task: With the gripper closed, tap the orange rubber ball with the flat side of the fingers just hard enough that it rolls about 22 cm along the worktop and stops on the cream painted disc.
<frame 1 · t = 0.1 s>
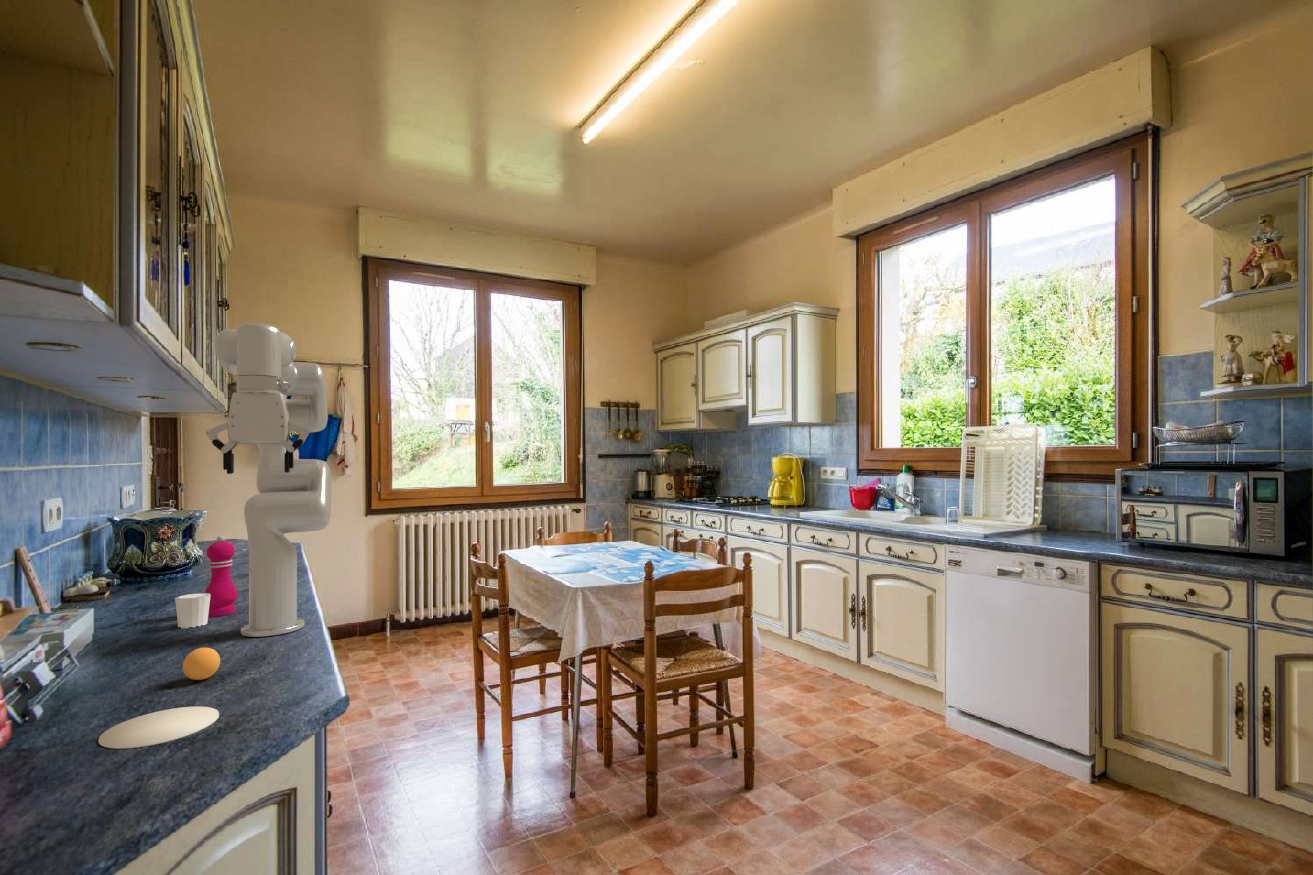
hand: (259, 473, 126), 37 cm above the countertop, tool pointing down, fingers open, 9 cm apart
pepper mill: (220, 614, 163), on the countertop
ball: (201, 663, 114), on the countertop
white fluted cup: (192, 625, 152), on the countertop
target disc: (161, 726, 94), on the countertop
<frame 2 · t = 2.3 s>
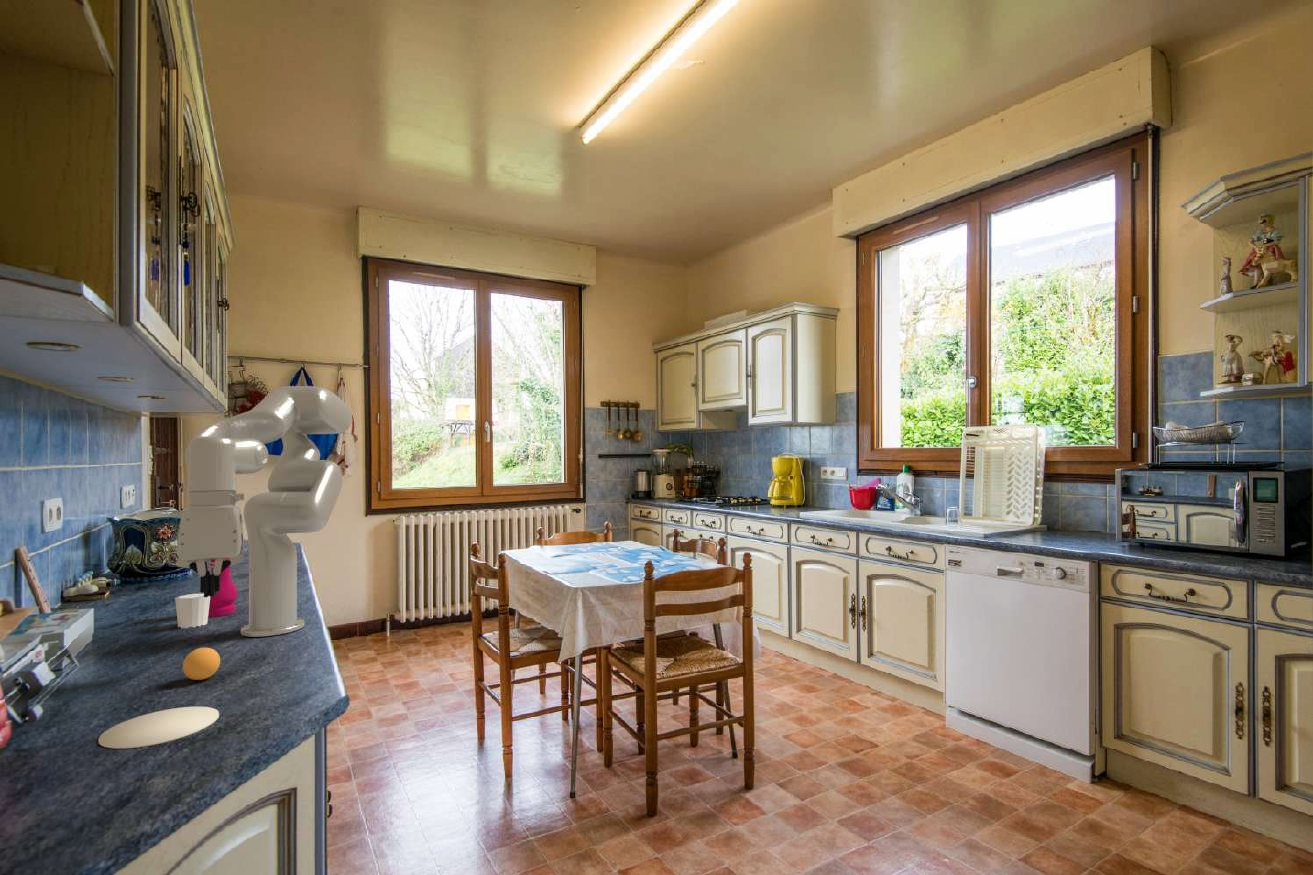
hand: (210, 595, 122), 13 cm above the countertop, tool pointing down, fingers closed
nothing on the countertop moved.
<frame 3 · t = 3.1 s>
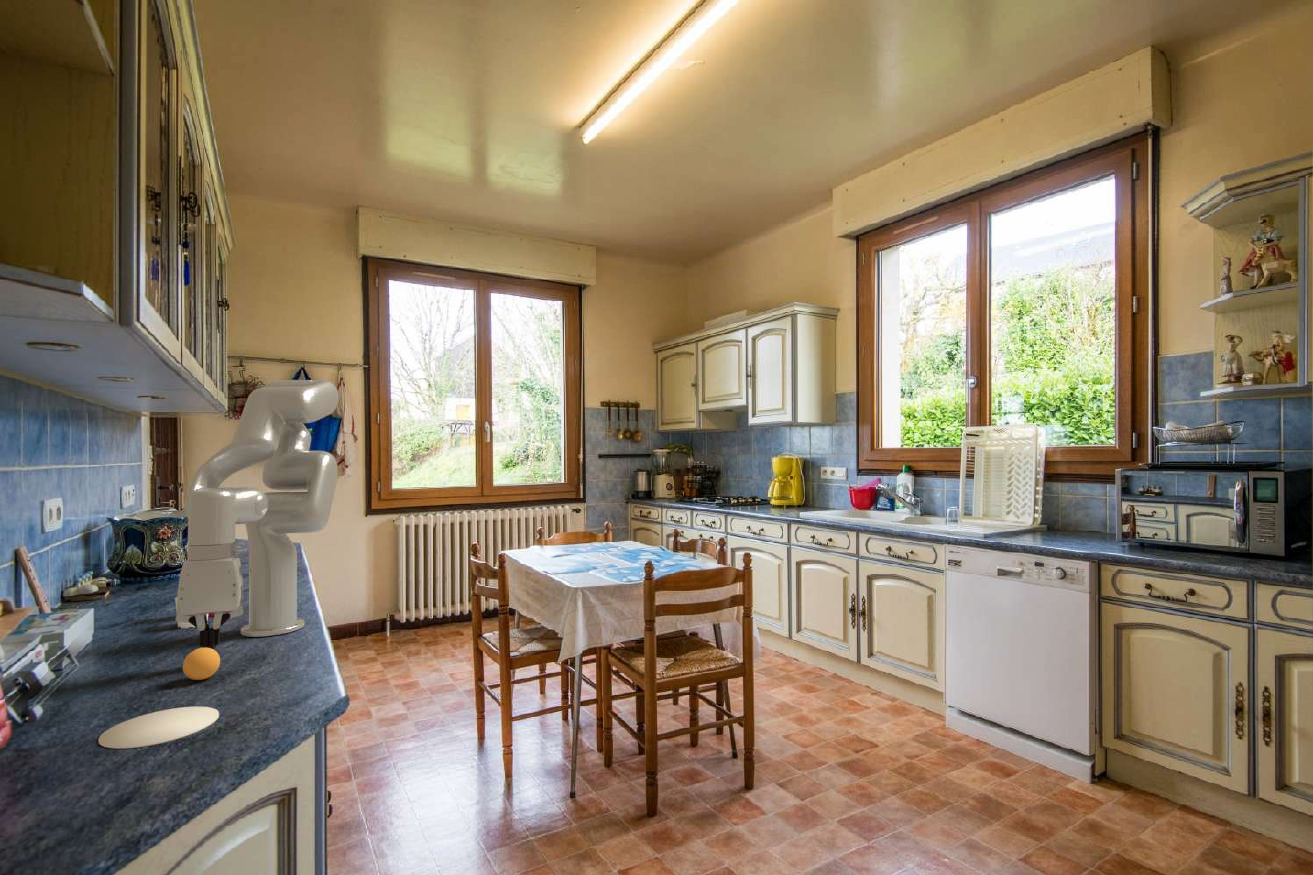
hand: (209, 649, 122), 3 cm above the countertop, tool pointing down, fingers closed
nothing on the countertop moved.
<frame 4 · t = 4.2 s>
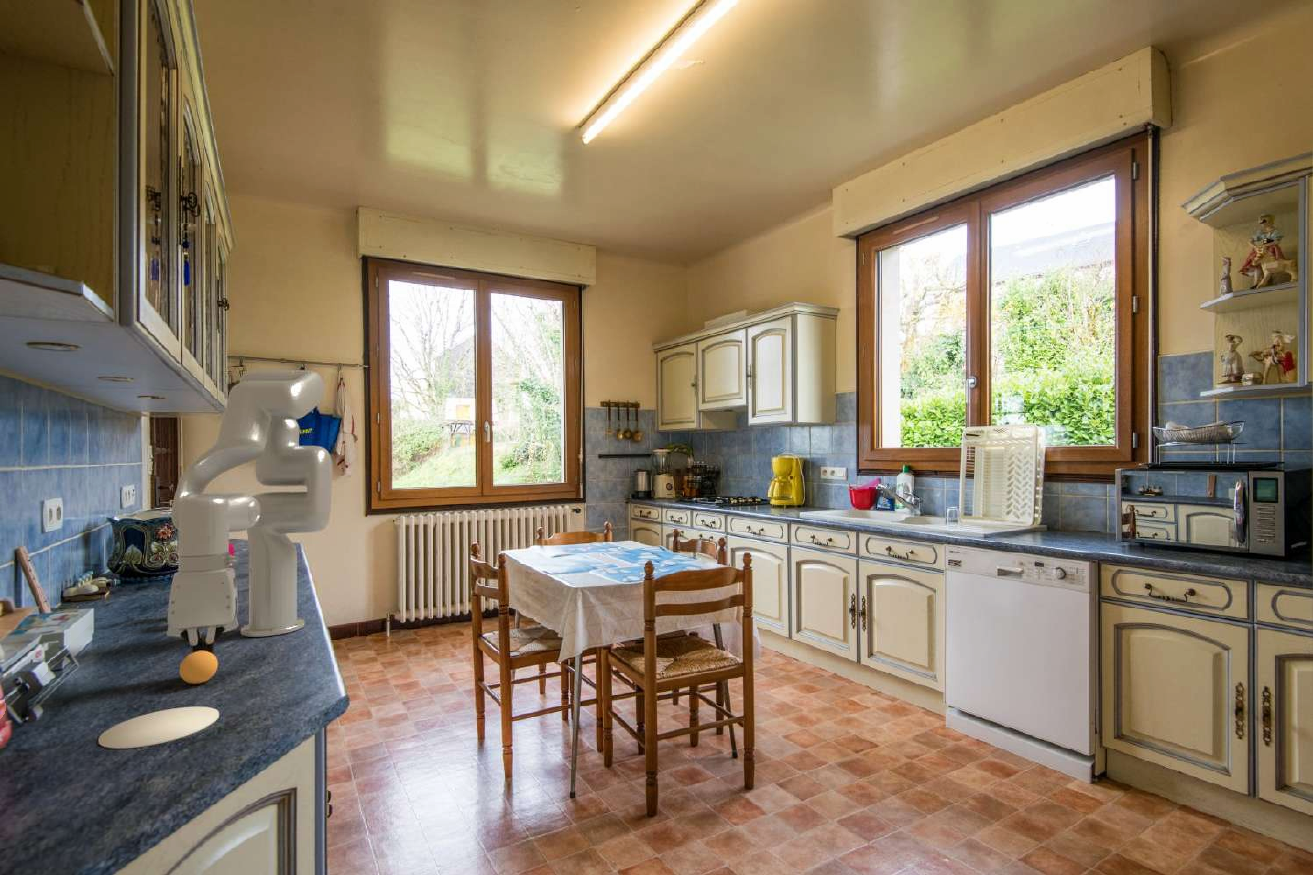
hand: (203, 664, 116), 2 cm above the countertop, tool pointing down, fingers closed
ball: (198, 667, 112), on the countertop, touching gripper
everything else where it was.
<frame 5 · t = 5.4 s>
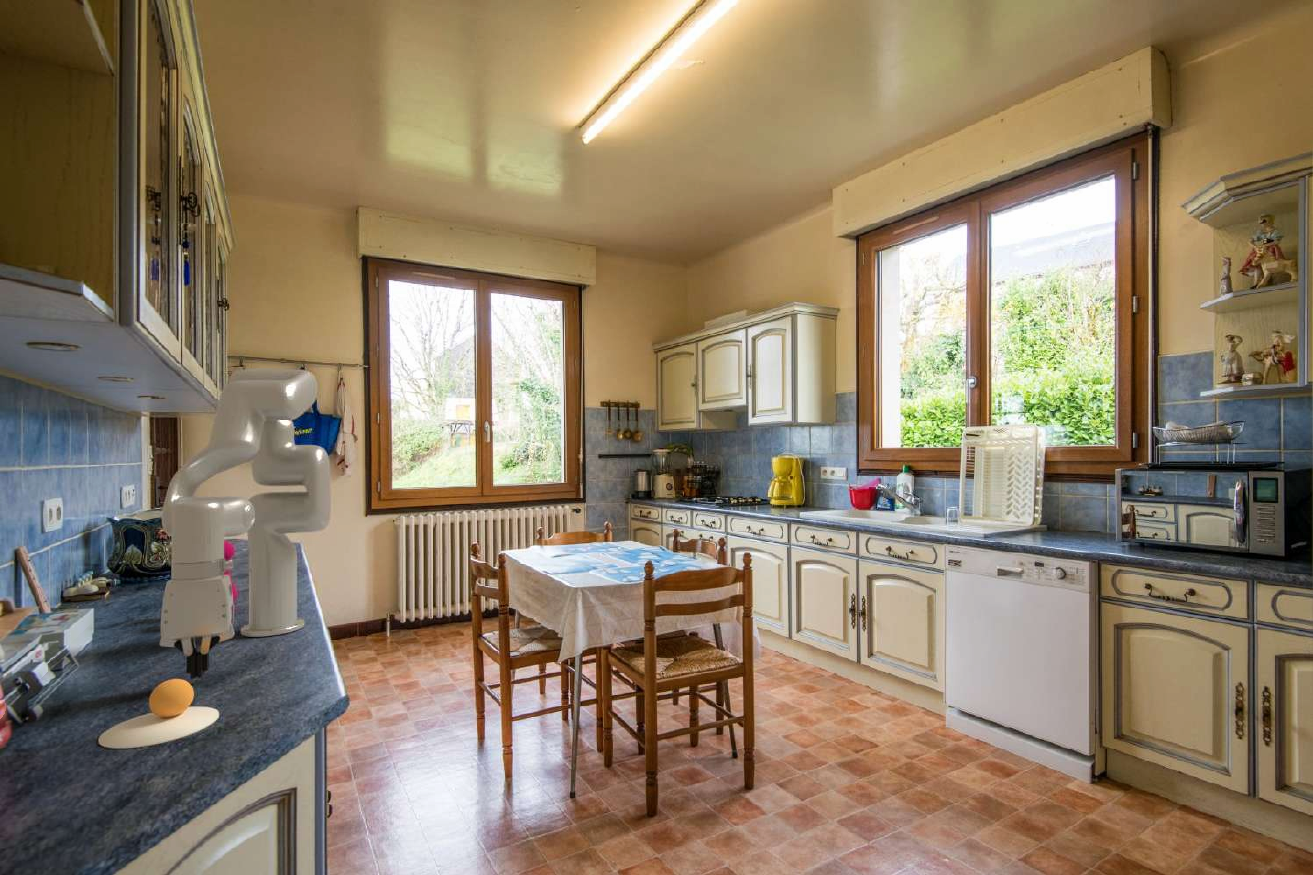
hand: (198, 675, 111), 2 cm above the countertop, tool pointing down, fingers closed
ball: (171, 697, 98), on the countertop
everything else where it was.
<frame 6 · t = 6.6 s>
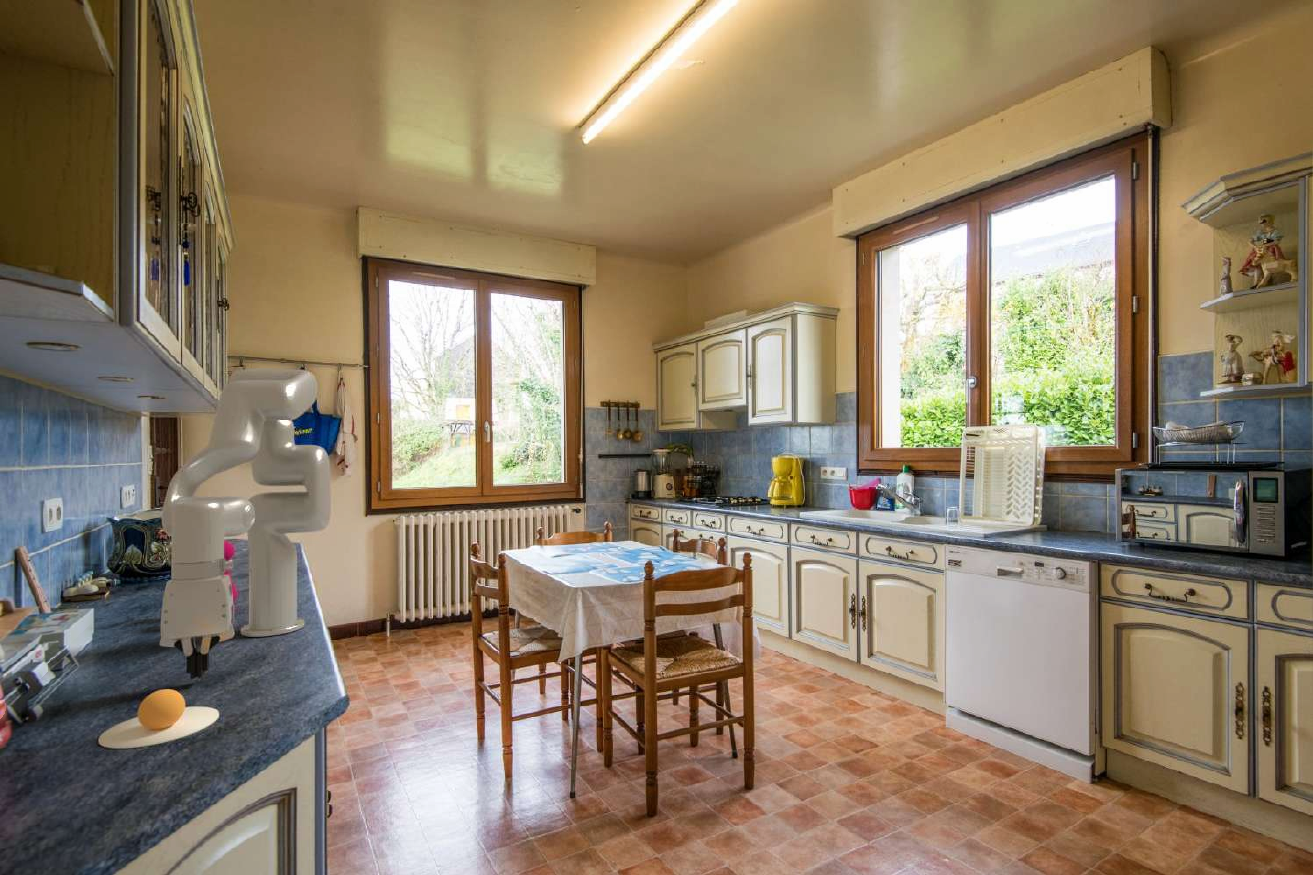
hand: (198, 675, 111), 2 cm above the countertop, tool pointing down, fingers closed
ball: (161, 709, 93), on the countertop
everything else where it was.
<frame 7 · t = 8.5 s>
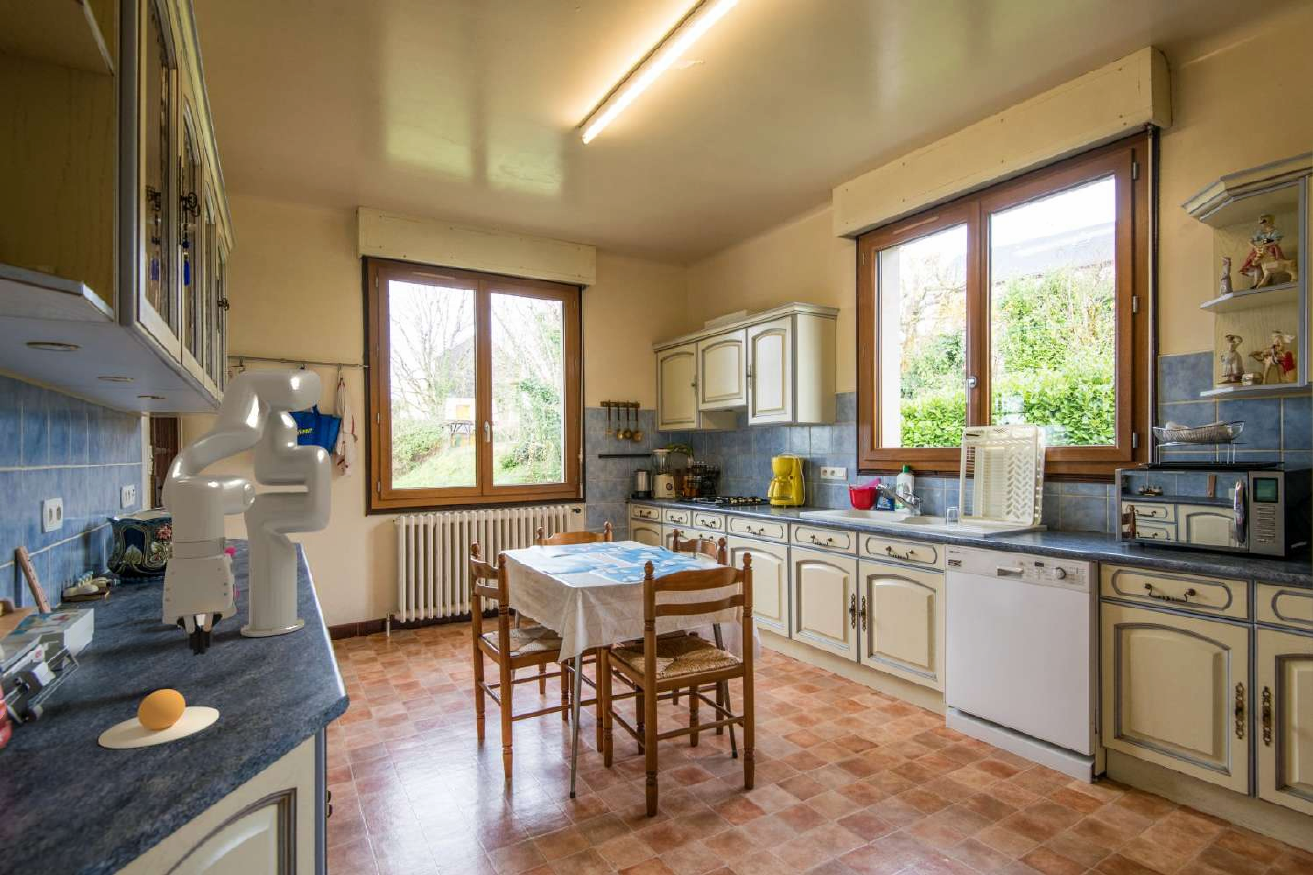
hand: (200, 652, 112), 5 cm above the countertop, tool pointing down, fingers closed
nothing on the countertop moved.
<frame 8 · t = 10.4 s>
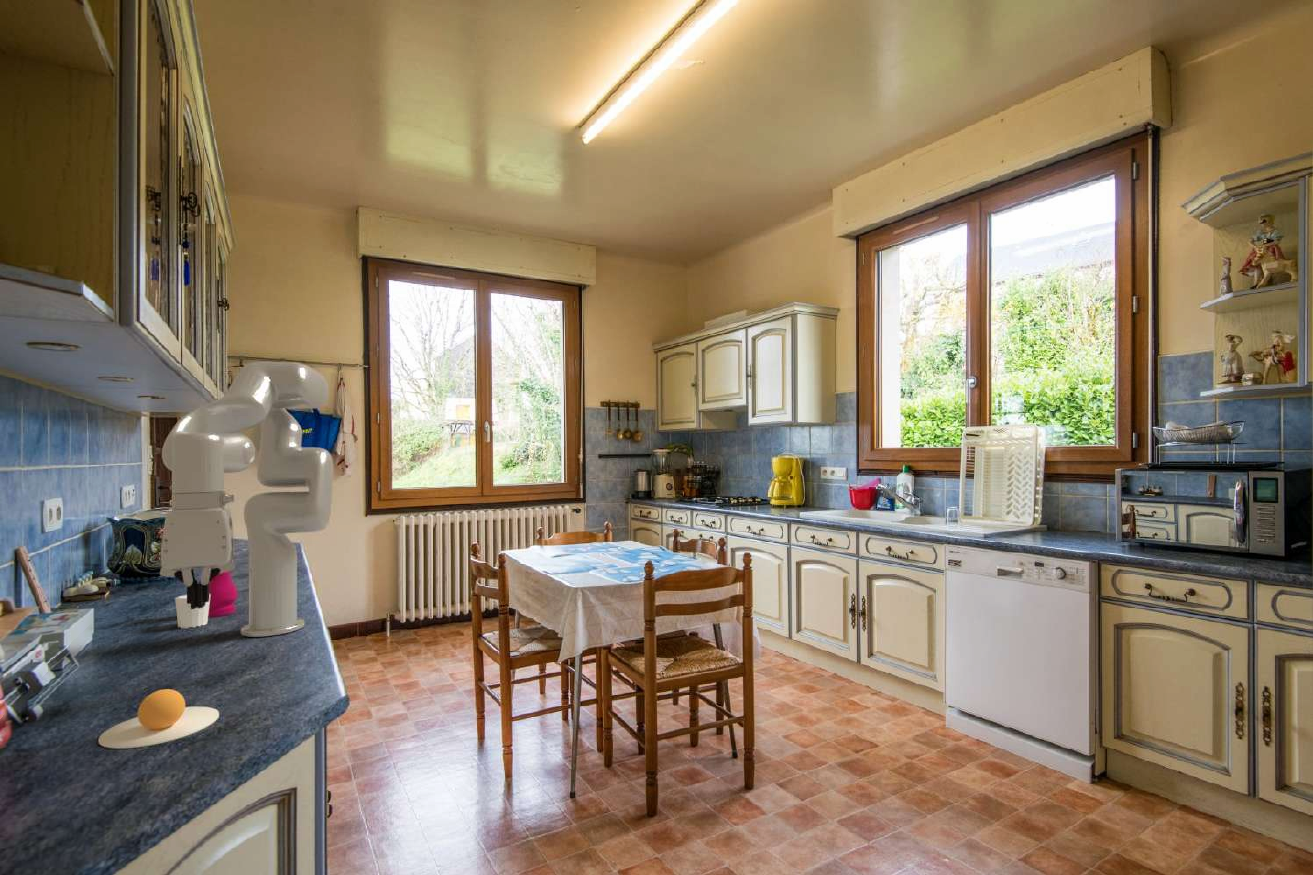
hand: (198, 606, 112), 14 cm above the countertop, tool pointing down, fingers closed
nothing on the countertop moved.
at the end: ball 0.7 cm from the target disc (horizontally); ball at rest at the end (0.0 cm/s); ball moved 22.7 cm from its start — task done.
